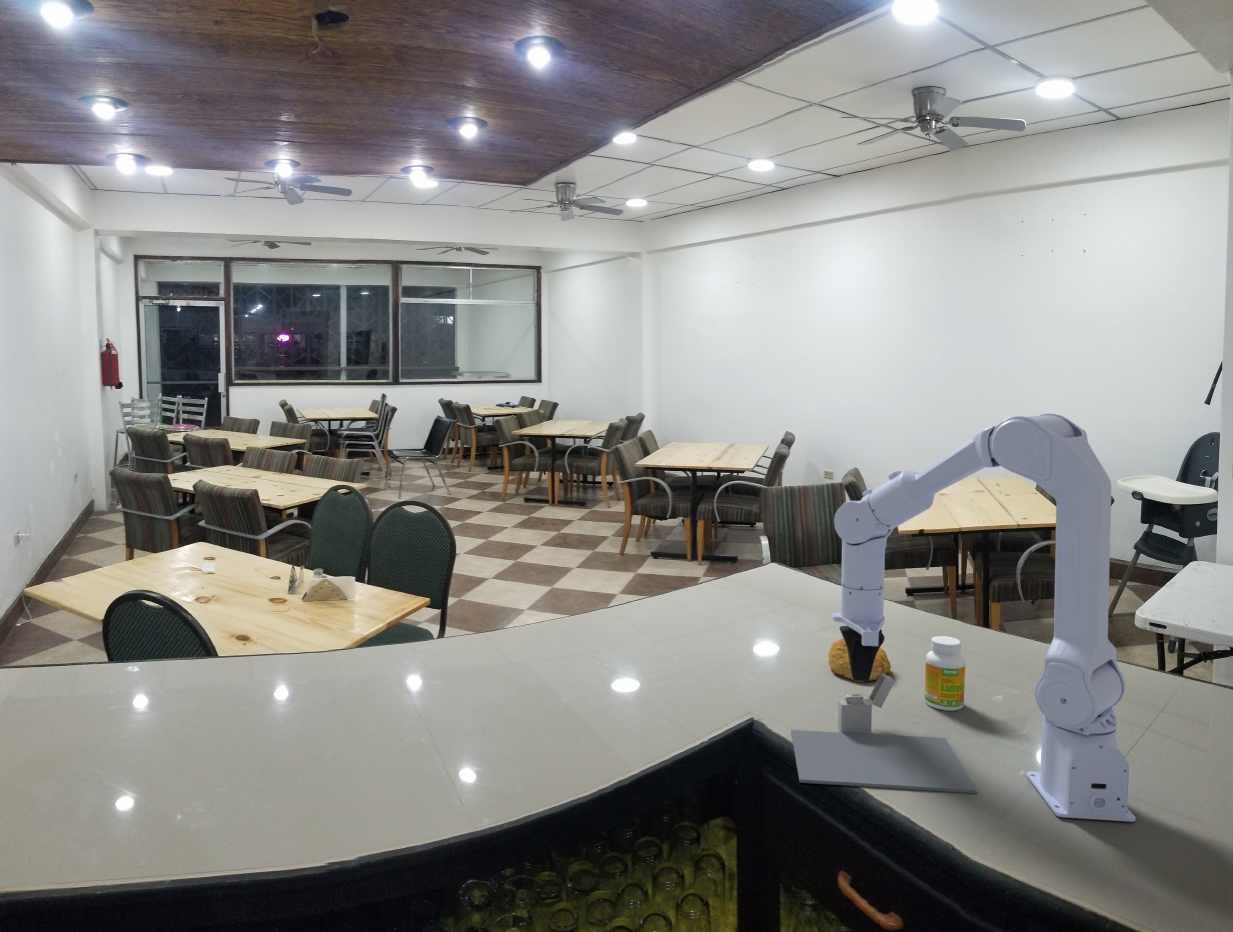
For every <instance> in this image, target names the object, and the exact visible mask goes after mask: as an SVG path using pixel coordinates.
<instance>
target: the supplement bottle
mask: <svg viewBox="0 0 1233 932" xmlns="http://www.w3.org/2000/svg"><path fill="white" fill-rule="evenodd" d="M930 641H931V643H930V649H931V650H930V651H929V652H927V653H926V656H925V668H924V669H925V672H924V673H925V674H924V697H923V698H924V702H925V704H926V705H928V706H930V707H931V708H933V709H937V710H941V711H946V712H947V711H948V712H949V711H950V712H951V711H952V712H953V711H958V710H961V709H962V708H963V707H964V705H965V684H966V682H965V681H966V659H965V657H964V656H963V655H962V654H961V653H960V652H961V648H962V647H961V644H962V643H961V641H960V640H959V639H958V638H955V637H951V636H944V635H940V636H939V635H937V636H932V638H931V639H930Z"/></svg>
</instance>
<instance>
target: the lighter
mask: <svg viewBox="0 0 1233 932" xmlns="http://www.w3.org/2000/svg"><path fill="white" fill-rule="evenodd" d="M894 685H895V679H894V678H892V677H891V676H889V675H887V674H886V675H885V674H883V673H882V674H881V675H880V677H878V679H877V680H876V683H875V685H874V687H873V689H872V690H871V692H870V694H869V696H868V699H867V698H865V699H864V695H863V694H862V693H848V694H847V695H846V696H845V697H844V699H838V705H837V708H838V709H837V710H838V712H837V732H841V733H860V734H872V724H873V723H872V720H873V719H872V717H873V715H872V714H873V706H876V707H878V708H880V709H881V708H882V707H883V706H884V703H885V702H886V700H887V697H888V696H889V693H890V691H891V690H892V687H893V686H894Z"/></svg>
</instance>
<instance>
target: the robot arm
mask: <svg viewBox="0 0 1233 932" xmlns="http://www.w3.org/2000/svg"><path fill="white" fill-rule="evenodd" d="M997 467H1002V468H1003V469H1006V471H1007V470H1008V471H1010V472H1011V473H1014V474H1016V475H1018V476H1021V477H1024V478H1025V479H1028V480H1031V481H1033V482H1034V483H1036V484H1037V486H1039V487H1040V488H1041V489H1043V490H1044V491H1046V492H1047V494H1049V496H1051V497H1052V498H1054V500H1055V502H1056V504H1055V509H1056V510H1055V516H1056V517H1055V553H1054V554H1055V557H1054V558H1055V560H1054V561H1055V563H1054V567H1055V569H1054V605H1053V606H1054V608H1053V609H1054V611H1053V615H1054V616H1053V637H1052V640H1051V643H1050V646H1048V647H1049V648H1048V650H1047V652H1046V655H1045V658H1044V669H1043V673H1042V675H1041V676H1040V678H1039V680H1038V681H1037V683H1036V685H1035V690H1034V695H1035V696H1034V697H1035V701H1036V704H1037V706H1038V708H1039V710H1040V712H1041V713H1042V725H1041V726H1042V727H1041V746H1040V747H1041V748H1040V750H1041V751H1040V766H1039V767H1040V768H1039V769H1040V771H1026V774H1025V775H1026V777H1027V778H1028V779H1029V781H1030V783H1031V784H1032V785H1033V786H1034V788H1035V789H1036V790H1037V792H1038V793H1039V795H1040V796H1041V797H1042V799H1044V801H1045V802H1046V803H1047V805H1048V806H1049V807H1050V809H1051V810H1052V812H1053V813H1054V815H1056V816H1057V817H1060V818H1067V819H1069V818H1070V819H1083V820H1100V821H1117V822H1130V823H1131V822H1136V816H1135V815H1134V814H1133V813H1132V812H1131V810H1130V809H1129V808H1128V796H1129V780H1130V779H1129V777H1130V766H1129V762H1128V760H1127V757H1126V756H1125V754H1124V753H1123V751H1122V750H1121V749H1120V747H1119V744H1118V741H1117V727H1118V726H1117V724H1118V721H1117V719H1116V716H1115V715H1116V714H1115V712H1114V707H1115V706H1116V705H1117V704H1119V703H1120V702H1121V701H1122V700H1123V698H1124V696H1125V693H1126V692H1125V691H1126V681H1125V678H1124V675H1123V673H1122V672H1121V669H1120V667H1119V665H1118V661H1117V655H1118V654H1117V653H1118V651H1117V649H1116V647H1115V646H1114V645H1113V643H1111V641H1110V640H1109V601H1110V600H1109V597H1110V593H1109V592H1110V565H1111V564H1110V562H1111V561H1110V557H1111V555H1110V554H1111V522H1112V521H1111V518H1112V517H1111V515H1112V512H1111V511H1112V482H1111V478H1110V476H1109V475H1108V473H1107V471H1106V470H1105V468H1104V466H1103V465H1102V463H1101V461H1099V458H1098V457H1097V455H1096V454H1095V452H1094V450H1093V449H1092V447H1091V445H1090V444H1089V441H1088V435H1087V432H1086V431H1085V430H1084V429H1083V428H1081V427H1080V426H1078V425H1077V424H1076V423H1074V422H1073V421H1071V420H1070V419H1069V418H1067V417H1065V416H1063V415H1061V414H1056V413H1045V414H1044V413H1043V414H1040V415H1034V416H1033V415H1031V416H1023V415H1017V416H1016V415H1015V416H1010V417H1008V418H1006V419H1004V420H1002V421H1000V423H998V425H993V426H990V427H988V428H985V429H984V430H982V431H980V432H979V433H977V434H976V435H974V436H972V437H971V438H969V439H968V440H967V441H965V442H964V443H962V444H961V445H959V446H958V447H956V448H955V449H953V450H951V452H949V453H947V454H946V455H945V456H943V457H941V458H940V459H938V460H937V461H935V462H934V463H932V464H931V465H929V466H928V467H926V468H925V469H924V470H922V471H921V472H916V471H912V470H904V471H901V470H897V471H894V472H891V473H890V474H888V476H887V477H888V481H886V482H884V483H883V484H881V485H879V486H878V487H876V488H875V489H867V490H865V491H864V492H862V498H861V499H860V500H849V501H845V502H844V503H842V505H840V507H839V508H837V510H836V512H835V514H834V519H833V523H834V524H833V525H834V529H835V531H836V533H837V535H838V537H839V538H840V539H841V577H840V578H841V582H840V583H841V586H840V588H841V589H840V592H841V593H840V612H833V613H832V614H831V619H832V621H833V622H838V623H842V624H844V625H841V626H839V628H838V629H839V631H840V633H841V635H842V638H844V640H845V643H846V647H847V651H848V657H849V663H850V669H851V674H852V677H853V679H854V680H855V681H854V682H856V681H864V682H870V681H869V678H870V675H871V672H872V668H873V663H874V660H875V657H876V654H877V652H878V650H879V648H881V647H882V645H883V643H884V642H885V638H886V637H885V635H884V633H883V631H882V628H883V626H884V625H885V622H886V618H885V616H884V606H885V605H884V601H885V600H884V598H885V563H886V561H885V558H886V548H887V539H888V537H889V536H890V535H891V534H892V532H893V531H894V529H895V528H897V527H900V526H901V525H903V524H904V523H906V522H908V521H910V520H912V519H913V518H915V517H916V516H919V515H921V514H922V513H924V512H926V511H927V510H929V509H931V507H932V505H933V504H934V499H935V495H936V494H937V493H939V492H941V491H942V490H944V489H946V488H949V487H950V486H952V485H954V484H956V483H958V482H959V481H962V480H964V479H965V478H968V477H969V476H971V475H974V474H975V473H977V472H979V471H981V470H983V469H985V468H991V469H992V468H997Z"/></svg>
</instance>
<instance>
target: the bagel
mask: <svg viewBox="0 0 1233 932" xmlns="http://www.w3.org/2000/svg"><path fill="white" fill-rule="evenodd" d="M827 656H828V665H829V667H830V669H831V671H832V672H833V673H835V674H836V675H838V676H840V677H845V678H847V679H848V680H852V681H854V682H857V683H864V682H865V681H855V680H854V679H853V677H852V674H851V669H850V663H849V657H848V651H847V647H846V643H845V640H844V638H843V637H842V638H841V639H838V640H836V641H833V642H832V643H831V646H830V649H829V651H828V655H827ZM891 668H892V666H891V662H890V660H889V659H888V655H887V653H886V651H885V650H884V649H883V648H882V647H880V648H879V650H878V652H877V654H876V657H875V660H874V663H873V668H872V672H871V675H870V678H869V681H868V682H870V681H871V682H872V681H877V680H878V679H879V677H880V675H881V674H882V673H883V674H885V675H887V674H889V673H890V671H891Z"/></svg>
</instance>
